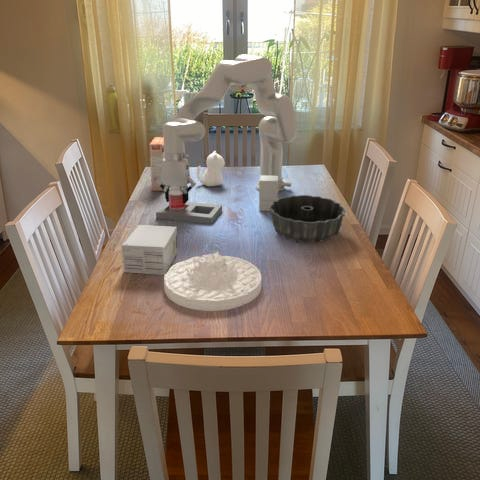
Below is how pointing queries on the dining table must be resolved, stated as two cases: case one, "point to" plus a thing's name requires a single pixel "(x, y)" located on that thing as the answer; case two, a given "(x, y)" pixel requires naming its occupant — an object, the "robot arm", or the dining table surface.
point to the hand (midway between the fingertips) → (177, 201)
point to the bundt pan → (307, 218)
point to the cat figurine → (212, 170)
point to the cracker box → (156, 161)
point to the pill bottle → (176, 199)
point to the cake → (212, 282)
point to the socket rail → (191, 213)
